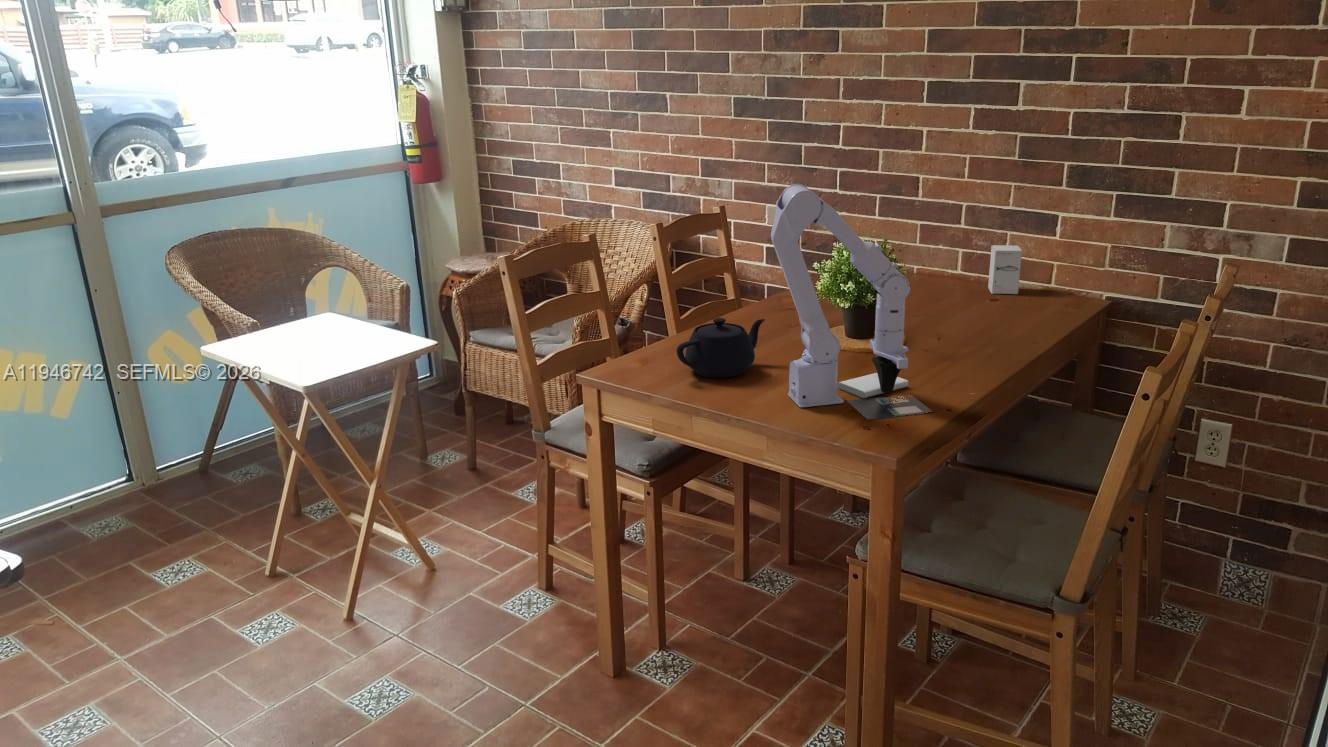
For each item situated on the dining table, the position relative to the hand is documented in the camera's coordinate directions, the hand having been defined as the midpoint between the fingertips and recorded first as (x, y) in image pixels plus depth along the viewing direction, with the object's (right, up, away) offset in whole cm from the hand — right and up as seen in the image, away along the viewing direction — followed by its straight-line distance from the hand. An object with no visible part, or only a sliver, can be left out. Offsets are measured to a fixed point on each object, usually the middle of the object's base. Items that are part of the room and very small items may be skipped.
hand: (886, 391), depth 212 cm
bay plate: (-1, -3, -6) cm, 6 cm away
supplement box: (+50, +27, +78) cm, 96 cm away
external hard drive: (-2, 0, +5) cm, 5 cm away
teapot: (-33, +4, +19) cm, 38 cm away
